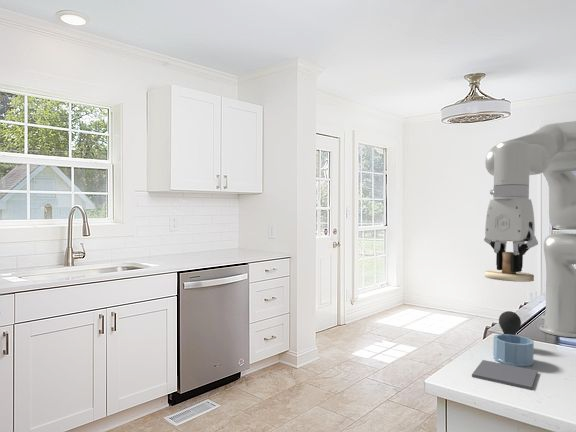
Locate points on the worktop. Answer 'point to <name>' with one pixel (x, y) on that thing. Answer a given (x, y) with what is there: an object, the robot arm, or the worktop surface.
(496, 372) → the mat
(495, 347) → the bowl
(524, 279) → the lid
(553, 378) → the worktop surface
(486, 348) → the worktop surface
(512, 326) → the light bulb
